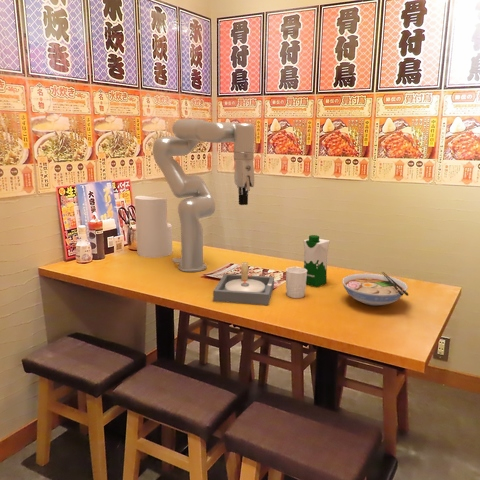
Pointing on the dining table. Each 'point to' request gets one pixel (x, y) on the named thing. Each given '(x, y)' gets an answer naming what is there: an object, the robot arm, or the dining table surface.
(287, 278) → the white cup
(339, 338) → the dining table surface
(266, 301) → the dial housing
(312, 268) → the milk carton
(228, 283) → the dial
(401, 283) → the ramen bowl
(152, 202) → the cylinder
